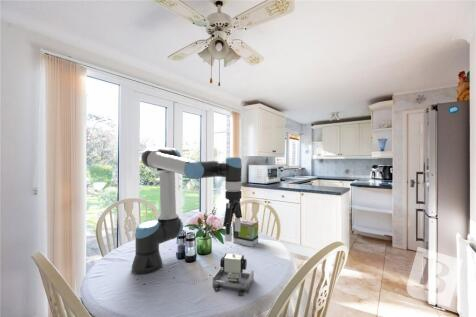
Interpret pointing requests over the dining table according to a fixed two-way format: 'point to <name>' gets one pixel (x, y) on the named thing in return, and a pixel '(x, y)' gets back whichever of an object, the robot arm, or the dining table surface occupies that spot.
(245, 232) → the tea box
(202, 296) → the dining table surface
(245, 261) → the pneumatic valve
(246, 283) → the wheeled cart
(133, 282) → the dining table surface
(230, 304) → the dining table surface
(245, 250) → the dining table surface
